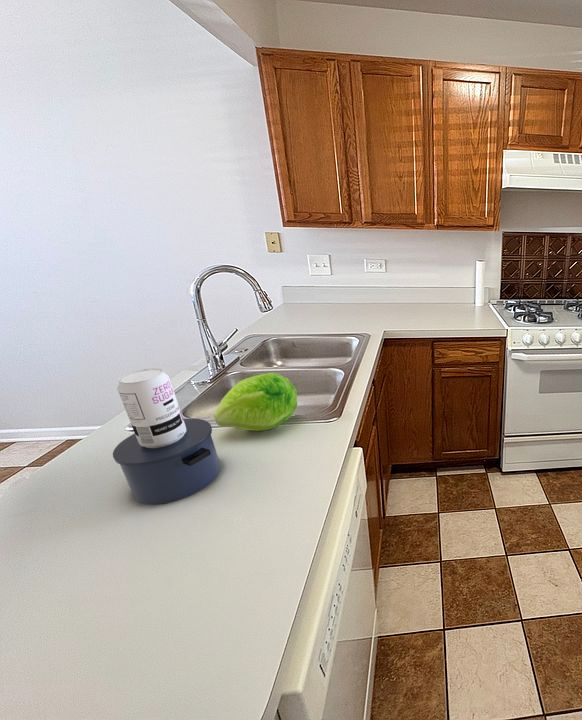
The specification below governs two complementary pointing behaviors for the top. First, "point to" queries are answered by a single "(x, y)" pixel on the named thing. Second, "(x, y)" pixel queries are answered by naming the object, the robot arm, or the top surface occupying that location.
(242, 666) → the top surface
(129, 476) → the pot
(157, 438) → the supplement can
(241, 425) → the lettuce
